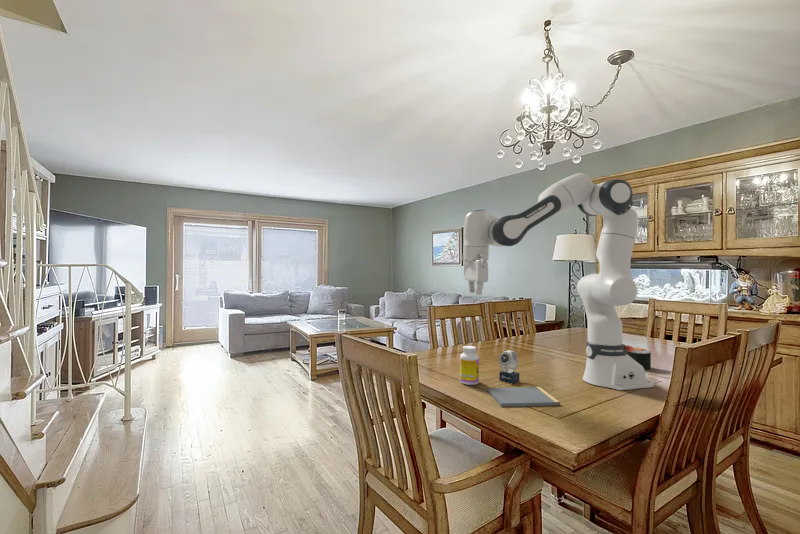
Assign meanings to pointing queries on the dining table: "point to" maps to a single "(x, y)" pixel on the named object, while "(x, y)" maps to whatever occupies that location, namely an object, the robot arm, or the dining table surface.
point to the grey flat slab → (522, 396)
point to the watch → (505, 361)
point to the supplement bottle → (469, 366)
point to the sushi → (641, 357)
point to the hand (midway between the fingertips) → (475, 293)
